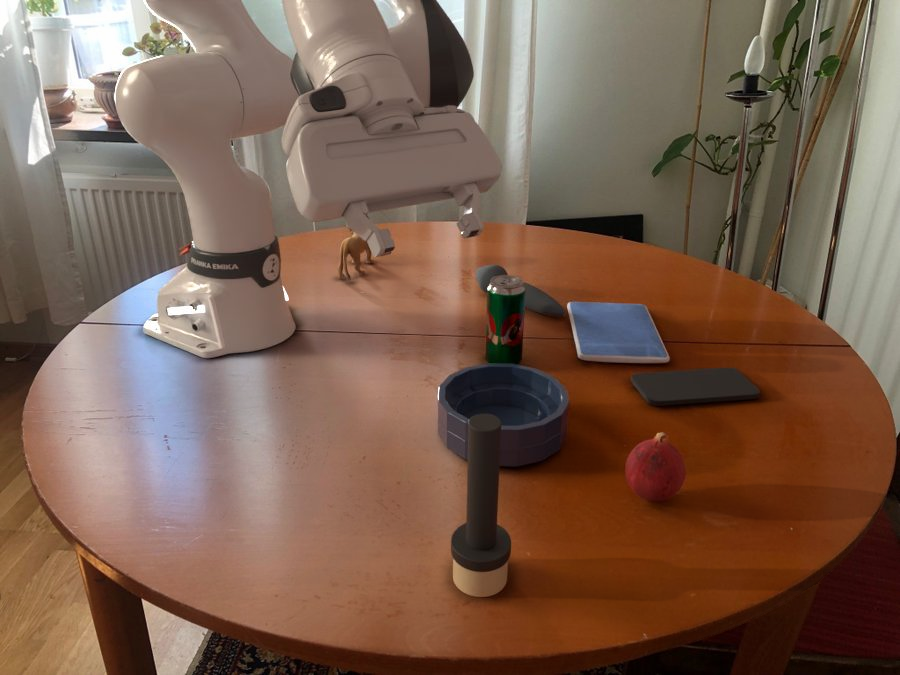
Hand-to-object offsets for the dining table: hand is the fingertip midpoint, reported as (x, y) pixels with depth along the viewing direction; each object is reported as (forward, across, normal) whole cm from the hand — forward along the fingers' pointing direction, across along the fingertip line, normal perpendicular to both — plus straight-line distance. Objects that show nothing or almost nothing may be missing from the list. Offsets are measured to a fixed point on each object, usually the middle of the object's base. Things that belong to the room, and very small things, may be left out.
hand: (431, 243), depth 66 cm
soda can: (+7, -23, -31) cm, 39 cm away
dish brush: (+28, +4, -9) cm, 30 cm away
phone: (+20, -39, -17) cm, 47 cm away
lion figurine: (-24, -24, -62) cm, 71 cm away
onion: (+29, -17, -8) cm, 35 cm away
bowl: (+16, -12, -21) cm, 29 cm away
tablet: (+8, -42, -29) cm, 52 cm away
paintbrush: (-4, -38, -42) cm, 57 cm away
